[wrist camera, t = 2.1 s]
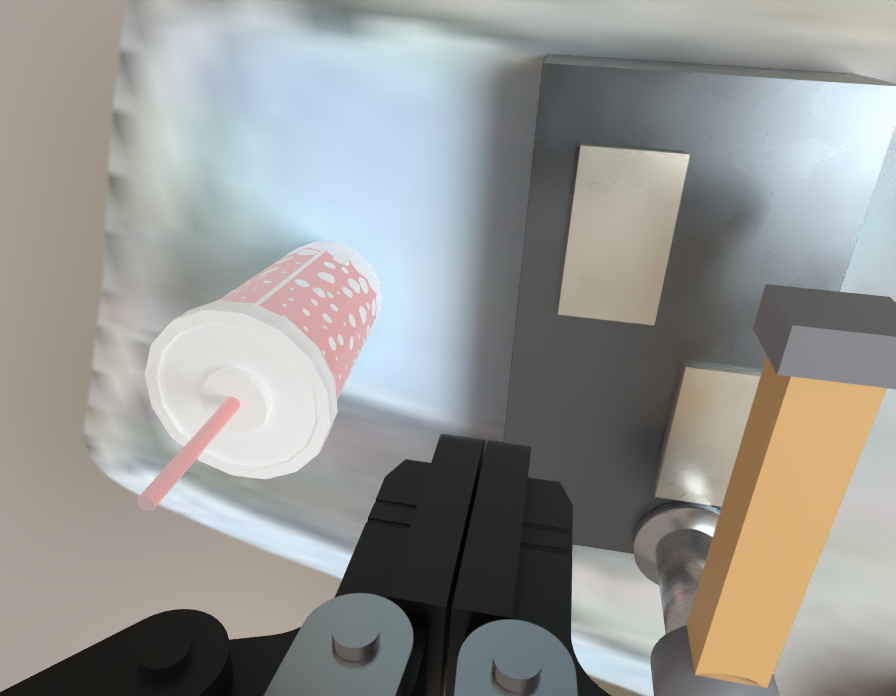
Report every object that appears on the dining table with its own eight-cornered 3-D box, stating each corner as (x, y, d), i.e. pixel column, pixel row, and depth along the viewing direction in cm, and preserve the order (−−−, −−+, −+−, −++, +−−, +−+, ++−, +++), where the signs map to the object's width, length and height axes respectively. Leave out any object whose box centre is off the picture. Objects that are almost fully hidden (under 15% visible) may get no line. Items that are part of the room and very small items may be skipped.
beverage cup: (257, 336, 31) (40, 558, 18) (267, 206, 28) (17, 366, 16) (387, 371, 30) (255, 621, 18) (411, 243, 27) (272, 437, 15)
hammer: (748, 282, 16) (772, 323, 14) (907, 298, 16) (957, 343, 14) (640, 681, 23) (646, 749, 21) (750, 702, 23) (768, 773, 21)
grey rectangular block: (548, 54, 23) (530, 81, 15) (856, 73, 22) (1019, 115, 14) (501, 490, 32) (474, 658, 24) (721, 523, 31) (772, 712, 23)
